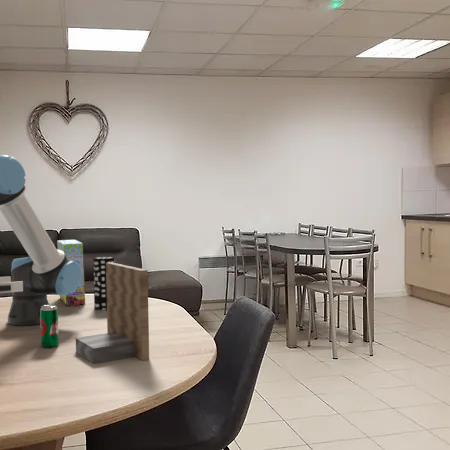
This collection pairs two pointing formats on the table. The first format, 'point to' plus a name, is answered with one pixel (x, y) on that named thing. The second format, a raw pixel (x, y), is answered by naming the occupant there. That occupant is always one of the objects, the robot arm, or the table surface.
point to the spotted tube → (100, 281)
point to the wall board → (121, 318)
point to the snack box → (75, 253)
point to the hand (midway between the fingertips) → (16, 283)
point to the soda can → (49, 326)
